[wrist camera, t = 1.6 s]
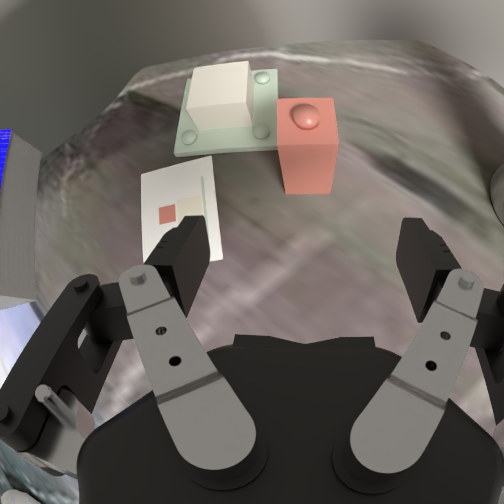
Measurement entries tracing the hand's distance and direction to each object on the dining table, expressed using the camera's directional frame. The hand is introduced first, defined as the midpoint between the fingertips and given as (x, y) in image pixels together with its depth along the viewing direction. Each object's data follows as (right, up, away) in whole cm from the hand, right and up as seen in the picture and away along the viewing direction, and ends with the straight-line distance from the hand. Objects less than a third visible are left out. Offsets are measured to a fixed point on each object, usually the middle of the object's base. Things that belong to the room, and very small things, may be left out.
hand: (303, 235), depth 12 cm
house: (-42, +2, +27) cm, 50 cm away
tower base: (-5, +16, +23) cm, 29 cm away
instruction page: (-10, +4, +21) cm, 24 cm away
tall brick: (+4, +8, +20) cm, 21 cm away
